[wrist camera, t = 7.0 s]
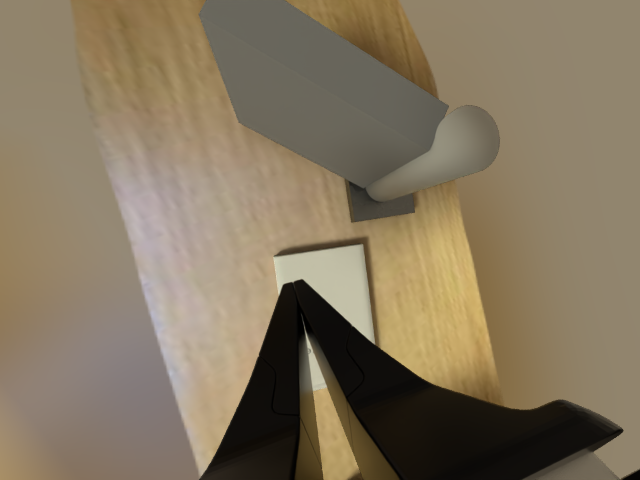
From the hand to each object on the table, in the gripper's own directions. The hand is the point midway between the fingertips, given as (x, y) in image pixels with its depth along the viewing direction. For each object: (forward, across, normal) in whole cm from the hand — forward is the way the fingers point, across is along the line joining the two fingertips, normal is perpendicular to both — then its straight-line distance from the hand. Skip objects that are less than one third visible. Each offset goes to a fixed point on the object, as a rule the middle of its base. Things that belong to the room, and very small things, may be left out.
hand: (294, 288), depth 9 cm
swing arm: (+13, -5, -2) cm, 14 cm away
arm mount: (+12, -10, +1) cm, 16 cm away
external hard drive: (+8, -2, +11) cm, 13 cm away
